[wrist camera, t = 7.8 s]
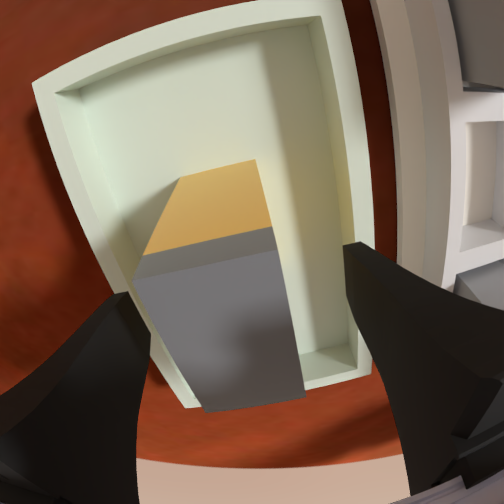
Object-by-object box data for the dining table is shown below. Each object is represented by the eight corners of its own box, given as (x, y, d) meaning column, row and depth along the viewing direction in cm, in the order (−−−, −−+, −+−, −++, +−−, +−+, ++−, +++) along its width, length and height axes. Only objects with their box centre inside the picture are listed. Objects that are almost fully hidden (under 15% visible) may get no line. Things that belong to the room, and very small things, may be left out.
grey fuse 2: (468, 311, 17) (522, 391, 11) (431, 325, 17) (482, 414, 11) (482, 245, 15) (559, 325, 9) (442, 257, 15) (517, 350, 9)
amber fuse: (278, 266, 15) (306, 397, 9) (214, 280, 15) (205, 412, 9) (255, 158, 12) (277, 249, 6) (180, 177, 12) (131, 280, 6)
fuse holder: (484, 317, 18) (502, 341, 16) (390, 351, 19) (403, 381, 17) (486, -40, 7) (518, -47, 5) (348, -67, 8) (371, -89, 5)
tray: (358, 342, 18) (370, 373, 16) (188, 375, 19) (185, 408, 17) (319, 6, 10) (338, -8, 7) (63, 79, 10) (31, 83, 8)
